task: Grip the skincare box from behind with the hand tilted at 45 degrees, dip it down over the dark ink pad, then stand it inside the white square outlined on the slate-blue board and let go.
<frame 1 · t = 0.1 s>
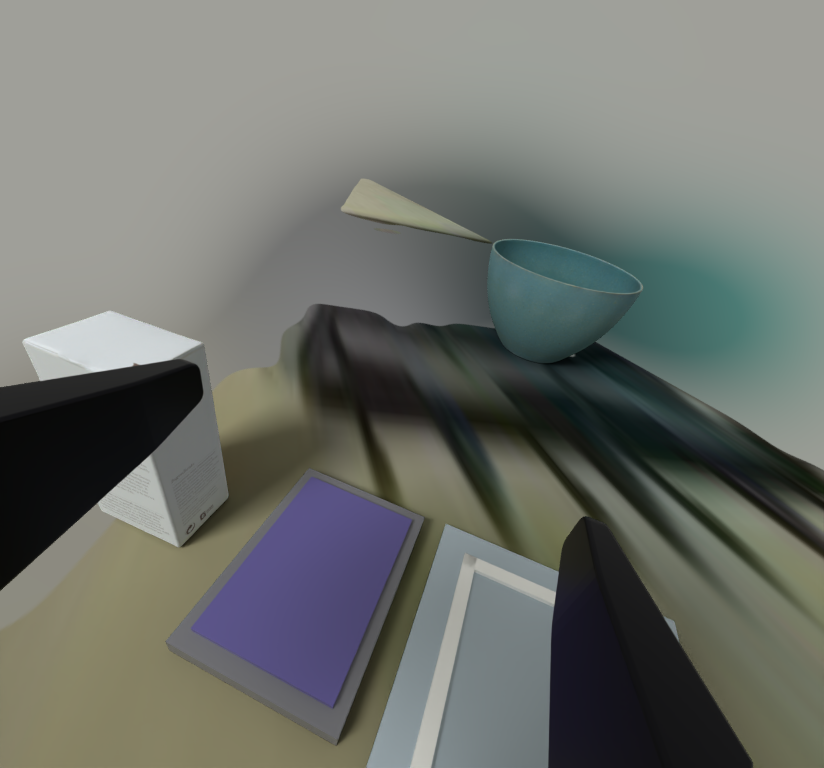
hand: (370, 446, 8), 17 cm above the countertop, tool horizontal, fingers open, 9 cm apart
skincare box: (168, 505, 24), on the countertop
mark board: (545, 709, 19), on the countertop
teal bowl: (529, 349, 52), on the countertop
ink pad: (318, 576, 22), on the countertop
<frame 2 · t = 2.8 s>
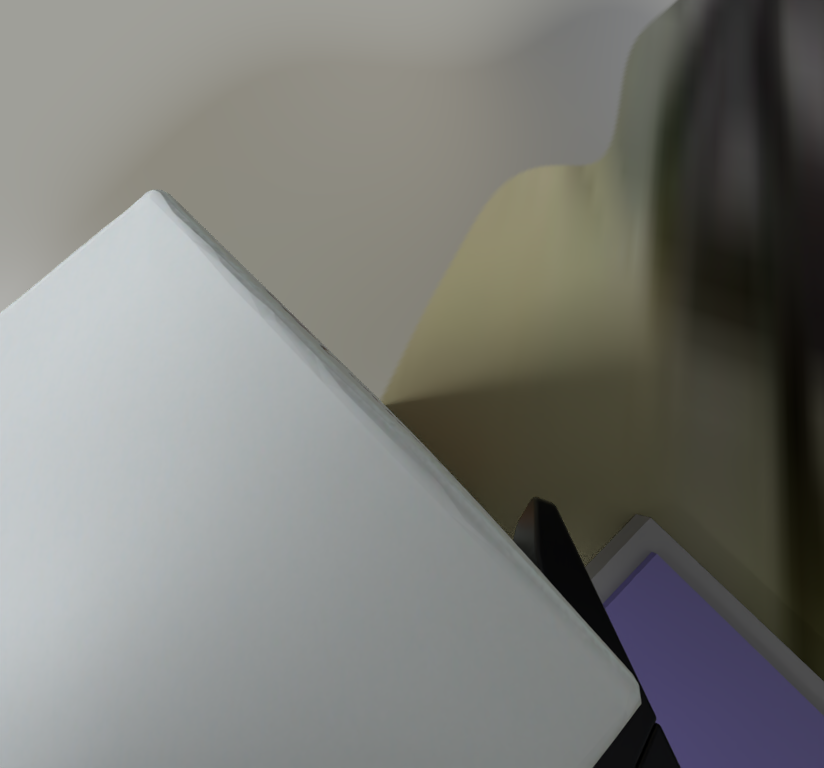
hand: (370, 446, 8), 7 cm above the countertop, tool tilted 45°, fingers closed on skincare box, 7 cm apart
skincare box: (392, 492, 14), on the countertop, touching gripper
ink pad: (623, 760, 12), on the countertop
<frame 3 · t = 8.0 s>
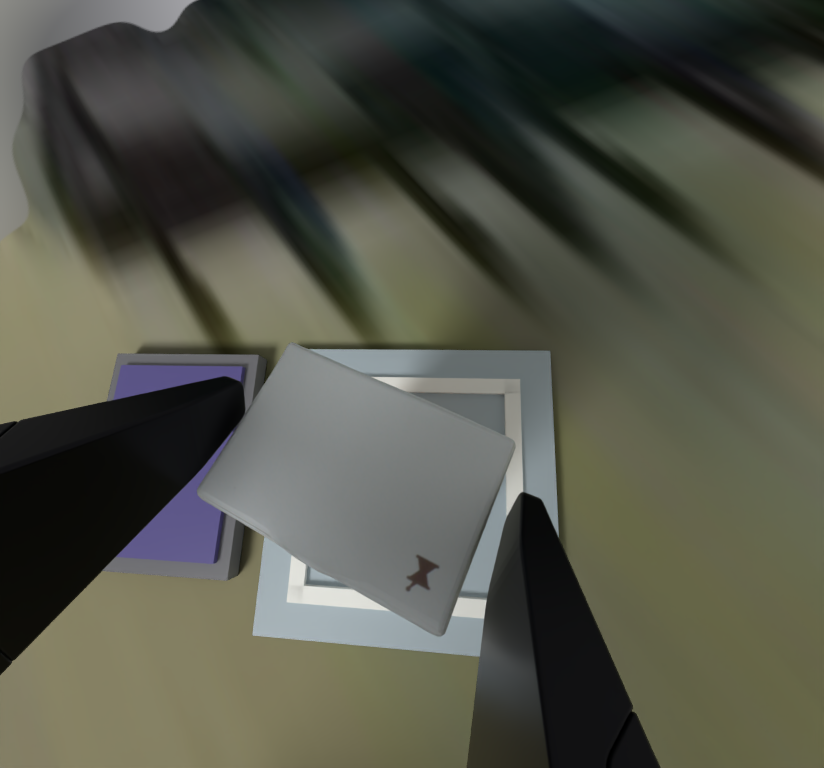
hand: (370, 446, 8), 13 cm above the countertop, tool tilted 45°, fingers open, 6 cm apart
skincare box: (404, 487, 19), point 1 cm above the countertop, touching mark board
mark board: (409, 485, 20), on the countertop
ink pad: (180, 457, 22), on the countertop
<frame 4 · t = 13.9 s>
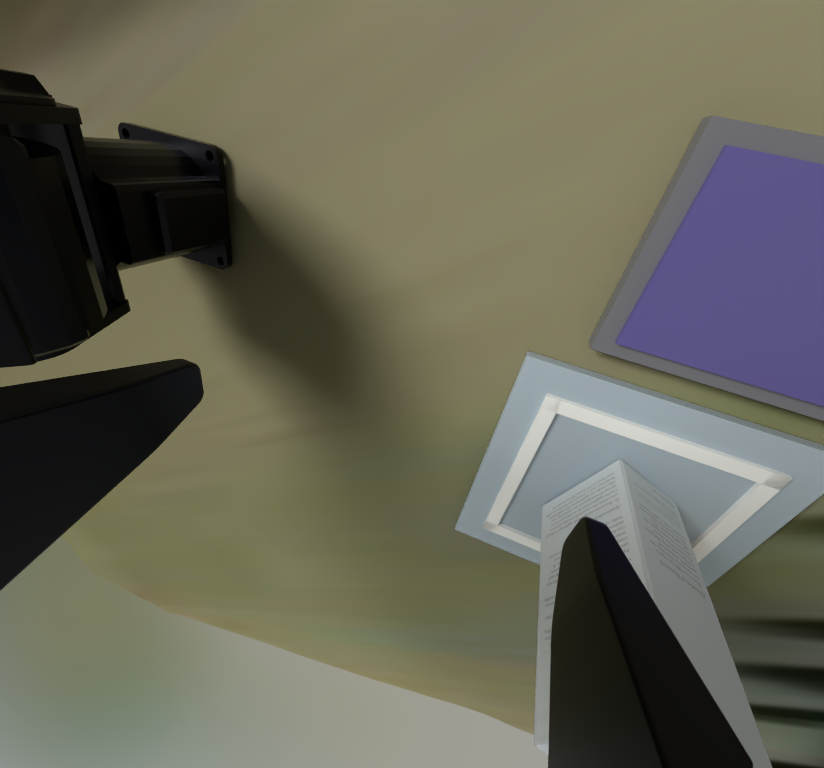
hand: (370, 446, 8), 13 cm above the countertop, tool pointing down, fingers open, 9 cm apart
skincare box: (605, 500, 22), resting on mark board
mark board: (605, 497, 22), on the countertop
ink pad: (793, 287, 15), on the countertop
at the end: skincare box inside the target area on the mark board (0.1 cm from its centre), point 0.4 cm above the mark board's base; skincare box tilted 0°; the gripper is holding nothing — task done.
